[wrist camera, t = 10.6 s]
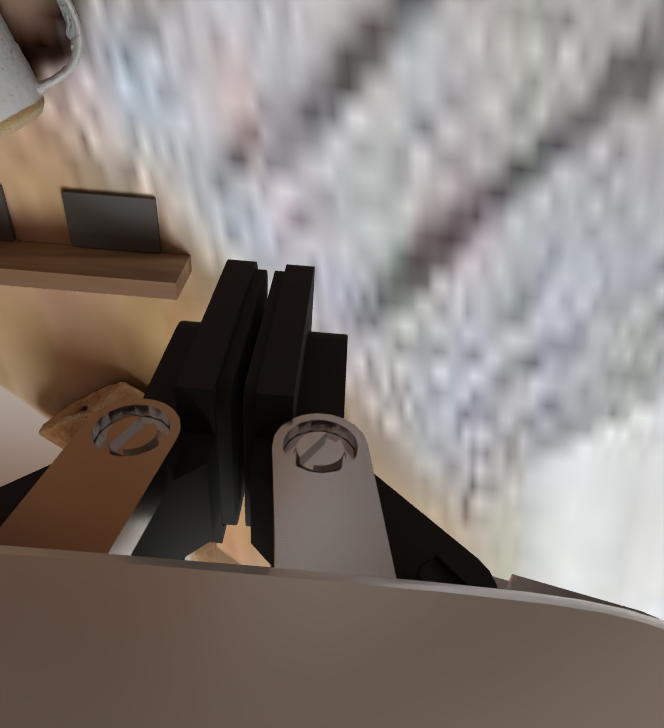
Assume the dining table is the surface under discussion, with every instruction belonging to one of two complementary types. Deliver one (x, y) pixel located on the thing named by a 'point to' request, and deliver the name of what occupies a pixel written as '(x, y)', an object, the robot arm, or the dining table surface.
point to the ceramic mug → (30, 74)
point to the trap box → (97, 250)
